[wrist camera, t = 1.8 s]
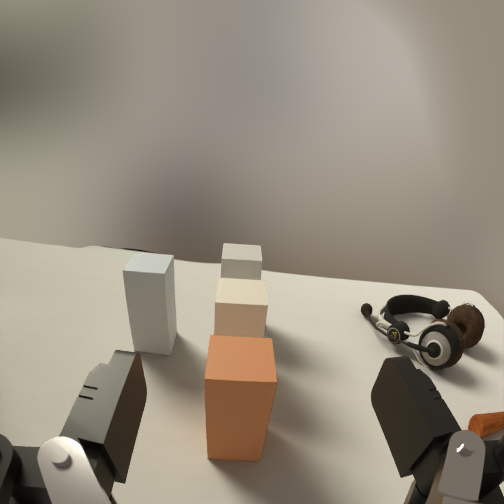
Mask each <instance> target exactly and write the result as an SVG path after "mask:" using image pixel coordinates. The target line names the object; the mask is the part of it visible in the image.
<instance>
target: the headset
mask: <svg viewBox="0 0 504 504" xmlns="http://www.w3.org/2000/svg"><path fill="white" fill-rule="evenodd" d="M466 304H469V305H466ZM450 310H451V312H450ZM361 312H362V314H363V315H364V316H367V317H368V318H369V320H370V322H371V324H372V325H373V326H374V327H375V329H377V330H378V331H380V332H381V333H382V334H384V335H385V336H387V337H388V339H389V341H390V342H391V343H392V344H396V345H397V344H399V343H403V344H405V345H407V346H408V347H410V348H412V349H413V351H414V354H415V356H416V358H417V360H418V362H420V363H421V364H422V365H423V366H425V367H428V368H431V369H444V368H447V367H451V366H453V365H455V364H456V363H457V362H458V361H459V359H460V358H461V356H462V353H463V350H464V349H466V348H471V347H473V346H475V345H476V344H477V343H478V342H479V341H480V339H481V337H482V334H483V331H484V327H485V326H484V318H483V315H482V313H481V312H480V311H479V309H477V308H476V307H475V306H474V305H473V304H472V303H471V302H464V303H463V304H461V305H460V306H457V307H456V308H454V309H452V308H450V305H449V304H448V302H447V301H444V300H442V301H439V302H437V301H435V300H432V299H429V298H425V297H421V296H416V295H398V296H395V297H392V298H391V299H389V300H388V302H387V304H386V305H385V306H383V307H382V308H381V309H380V311H379V315H378V322H377V323H376V325H375V324H374V323H373V321H372V320H371V318H370V315H371V314H372V306H371V305H370V304H368V303H365V304H363V305H362V307H361ZM384 312H385V314H384V319H383V317H382V316H381V314H382V313H384ZM413 312H415V313H427V314H431V315H433V316H434V317H435V318H436V319H439V320H434V321H433V322H431V323H430V324H428V325H427V326H426V327H424V328H423V329H421V330H420V331H419V332H418V333H416V334H412V333H410V330H409V327H408V325H407V324H406V323H405V322H403V321H400V322H398V321H397V320H395V319H394V318H393V317H392V316H394V315H398V314H403V313H413ZM449 312H450V314H449ZM448 314H449V315H448ZM445 316H447V317H448V318H447V320H444V319H442V318H444V317H445ZM379 324H381V325H382V326H383V328H382V327H380V326H379ZM385 332H386V333H385ZM422 332H423V333H422ZM420 333H422V334H421V336H420V339H419V345H417V344H413V343H410V342H407V341H405V340H406V339H408V337H409V336H412V337H415V336H418V335H419V334H420ZM416 350H419V352H420V356H421V358H422V359H423V361H424V362H425V363H426V364H427V365H426V364H424V363H423V362H422V361H421V360H420V358H419V356H418V354H417V352H416Z"/></svg>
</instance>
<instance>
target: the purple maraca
mask: <svg viewBox="0 0 504 504" xmlns="http://www.w3.org/2000/svg"><path fill="white" fill-rule="evenodd" d="M502 428H504V412H497V413H487V414H476V415H474V416H472V418H471V419H470V422H469V427H468V430H469V431H472V432H474V433H476V434H477V435H478V436H479V437H480V438H482V437H484V436H487V435H489V434H491V433H494V432H496V431H498V430H500V429H502Z"/></svg>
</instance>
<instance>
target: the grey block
mask: <svg viewBox="0 0 504 504" xmlns="http://www.w3.org/2000/svg"><path fill="white" fill-rule="evenodd" d="M261 269H262V254H261V246H256V245H241V244H226V243H224V246H223V253H222V261H221V278H233V279H249V280H260V279H261Z"/></svg>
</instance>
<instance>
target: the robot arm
mask: <svg viewBox="0 0 504 504" xmlns="http://www.w3.org/2000/svg"><path fill="white" fill-rule="evenodd" d="M146 397H147V387H146V382H145V377H144V372H143V366H142V361H141V356H140V354H139V353H136V352H129V351H121V350H116V351H115V352H114V354H113V356H112V358H111V360H110V362H109V364H102V363H100V364H99V365H98V366H97V367H95V368H94V369H93V370H92V371H91V372H90V373H89V374H88V376H87V378H86V380H85V383H84V385H83V387H82V389H81V391H80V393H79V397H77V399H76V401H75V403H74V405H73V407H72V410H71V412H70V414H69V416H68V418H67V421H66V423H65V425H64V427H63V429H62V432H61V433H60V435H59V436H58V437H54V438H51V439H49V440H47V441H46V442H45V443H43V445H42V446H41V447H23V446H13V445H12V444H11V443H10V441H9V440H8V439H7V438H6V437H5V436H3V435H1V434H0V504H118V503H117V501H116V500H115V498H114V496H113V494H112V488H113V484H114V481H115V482H120V483H124V484H125V482H126V478H127V473H128V469H129V465H130V461H131V457H132V453H133V449H134V445H135V441H136V437H137V433H138V429H139V426H140V422H141V418H142V414H143V411H144V407H145V403H146ZM441 397H442V396H441V395H440V393H439V392H438V390H436V387H435V385H434V384H433V382H432V380H431V379H430V377H428V376H427V375H426V374H425V373H423V372H422V371H421V370H420V369H416V368H415V366H414V365H413V363H412V361H411V360H410V359H409V358H408V357H407V356H403V357H393V358H387V359H385V361H384V362H383V365H382V367H381V370H380V372H379V374H378V377H377V379H376V381H375V384H374V386H373V389H372V392H371V402H372V406H373V408H374V411H375V413H376V416H377V418H378V421H379V423H380V425H381V428H382V430H383V433H384V435H385V438H386V440H387V443H388V446H389V448H390V451H391V453H392V456H393V458H394V461H395V464H396V466H397V469H398V472H399V474H400V477H401V478H402V477H405V476H409V475H412V474H413V476H414V478H415V480H414V481H413V482H412V484H411V486H410V489H409V491H408V494H407V496H406V499H405V502H404V504H504V496H503V494H502V491H501V489H500V487H499V485H500V484H501V483H502V482H503V481H504V436H503V437H502V438H501V439H500V440H493V441H483V440H482V439H481V438H480V437H479V436H478V435H477V434H476V433H474V432H472V431H468V430H461V428H460V427H459V425H458V423H457V421H456V420H455V418H454V416H453V415H452V413H451V411H450V410H449V408H448V406H447V405H446V403H445V401H444V400H443V399H442V398H441Z"/></svg>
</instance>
